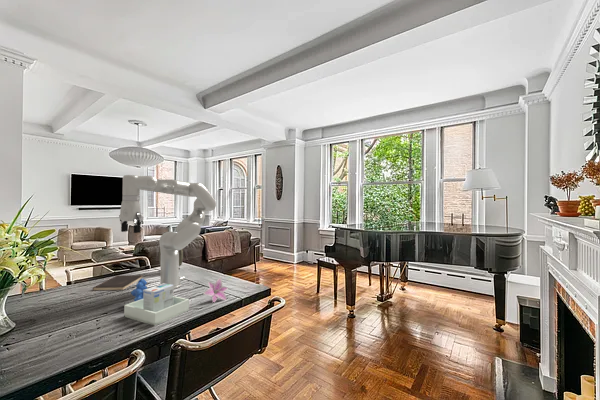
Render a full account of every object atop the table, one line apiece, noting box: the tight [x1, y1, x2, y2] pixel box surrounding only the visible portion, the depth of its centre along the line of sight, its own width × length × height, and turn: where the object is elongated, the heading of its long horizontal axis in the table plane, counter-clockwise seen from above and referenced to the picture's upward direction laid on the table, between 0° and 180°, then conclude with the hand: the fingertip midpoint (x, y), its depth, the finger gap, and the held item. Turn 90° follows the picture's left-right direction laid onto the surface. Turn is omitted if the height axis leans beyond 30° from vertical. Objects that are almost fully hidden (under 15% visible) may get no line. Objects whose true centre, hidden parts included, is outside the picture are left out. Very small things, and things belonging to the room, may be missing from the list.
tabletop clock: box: [158, 249, 184, 271], centre depth 189 cm, size 14×9×25 cm, turn 123°
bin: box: [123, 296, 190, 327], centre depth 121 cm, size 17×19×5 cm
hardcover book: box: [92, 274, 144, 291], centre depth 162 cm, size 16×23×2 cm
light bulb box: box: [143, 283, 175, 312], centre depth 121 cm, size 11×7×11 cm, turn 156°
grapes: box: [130, 278, 148, 302], centre depth 131 cm, size 12×7×12 cm, turn 14°
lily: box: [203, 277, 229, 303], centre depth 139 cm, size 12×12×10 cm
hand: (130, 232), depth 141 cm, fingers open, 9 cm apart
